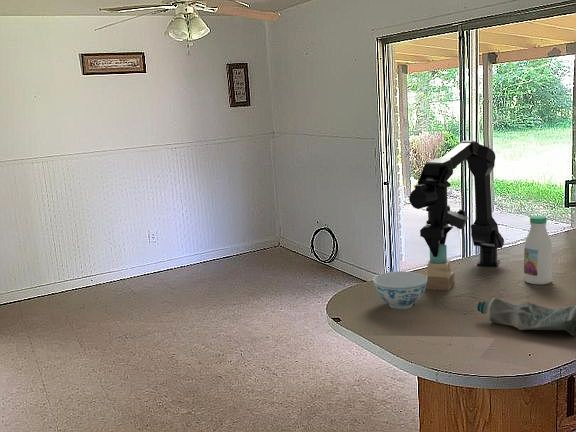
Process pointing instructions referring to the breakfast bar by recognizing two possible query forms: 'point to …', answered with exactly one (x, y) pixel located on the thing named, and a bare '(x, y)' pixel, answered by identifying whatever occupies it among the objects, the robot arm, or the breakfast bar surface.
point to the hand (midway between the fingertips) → (438, 253)
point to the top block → (439, 269)
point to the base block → (440, 282)
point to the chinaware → (400, 288)
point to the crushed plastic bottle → (530, 316)
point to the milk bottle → (538, 253)
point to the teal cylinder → (439, 255)
